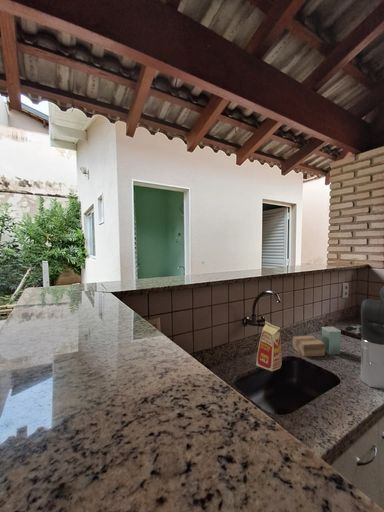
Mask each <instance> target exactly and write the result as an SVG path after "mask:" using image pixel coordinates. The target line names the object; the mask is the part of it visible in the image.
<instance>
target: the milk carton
mask: <svg viewBox="0 0 384 512" xmlns="http://www.w3.org/2000/svg"><path fill="white" fill-rule="evenodd" d="M280 329H281V327H279V326H276V325H273V324H272V323H269V322H268V321H265V325H264V326H263V327H262V331H261V334H260V339H259V344H258V349H257V353H256V361H255V366H257V367H259V368H262V369H265V370H266V371H270V372H275V371H277V370H279V369H281V366H282V362H283V361H282V344H281V332H280Z"/></svg>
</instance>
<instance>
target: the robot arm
mask: <svg viewBox="0 0 384 512" xmlns="http://www.w3.org/2000/svg"><path fill="white" fill-rule="evenodd" d="M379 298H380V300H377V299H370V298H369V299H368V298H366V299H364V300H363V301H362V302H361V307H360V320H361V321H360V322H361V324H359V323H357V324H349V326H345V327H344V331H345V332H356V333H357V334H356V336H357V338H361V340H360V341H361V345H360V346H361V348H360V381H362V382H363V383H364V384H365V385H368V387H370V388H376V389H381V390H384V285H383V286H382V287H381V288H380V290H379Z"/></svg>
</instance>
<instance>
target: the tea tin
mask: <svg viewBox="0 0 384 512" xmlns="http://www.w3.org/2000/svg"><path fill="white" fill-rule="evenodd" d="M341 332H342V330H341V329H339V328H337V327H334V326H321V342H323V343H324V344H325V353H326V354H327V355H340V354H341V335H342V334H341Z"/></svg>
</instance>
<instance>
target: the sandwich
mask: <svg viewBox="0 0 384 512" xmlns="http://www.w3.org/2000/svg"><path fill="white" fill-rule="evenodd" d="M292 348H293V349H294V350H295V351H297V353H299V354H300V355H301V356H303V357H320V356H323V357H325V356H326V354H325V353H326V352H325V344H324V343H323V342H322V340H320V339H318V338H316V337H315V336H314V335H294V336H292Z"/></svg>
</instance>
